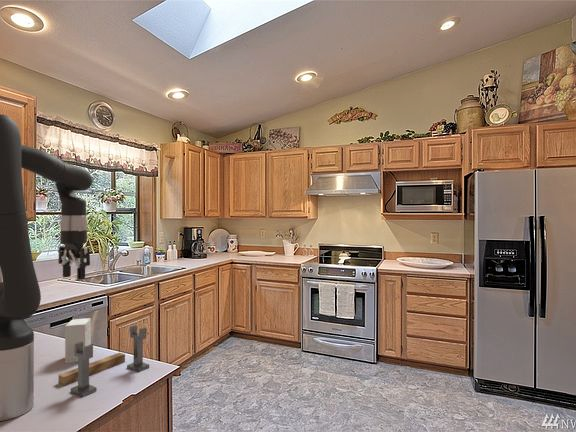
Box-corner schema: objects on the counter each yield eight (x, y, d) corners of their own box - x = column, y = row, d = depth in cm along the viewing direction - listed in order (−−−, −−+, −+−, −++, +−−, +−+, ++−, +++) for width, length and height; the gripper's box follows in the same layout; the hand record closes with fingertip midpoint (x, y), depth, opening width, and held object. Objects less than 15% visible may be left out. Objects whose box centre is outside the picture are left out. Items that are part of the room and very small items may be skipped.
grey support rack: (82, 397, 95) (82, 348, 96) (70, 391, 98) (70, 344, 99) (149, 367, 115) (149, 326, 115) (137, 363, 118) (137, 324, 118)
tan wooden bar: (63, 387, 102) (63, 377, 102) (58, 384, 104) (58, 374, 104) (125, 362, 119) (125, 354, 119) (119, 360, 121) (119, 352, 121)
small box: (71, 354, 126) (71, 319, 126) (91, 352, 128) (91, 317, 128) (64, 363, 118) (64, 325, 118) (85, 361, 120) (85, 323, 120)
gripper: (50, 229, 114) (50, 278, 114) (74, 229, 107) (74, 281, 107) (73, 228, 121) (73, 274, 121) (97, 229, 114) (97, 278, 114)
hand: (73, 278), depth 114 cm, fingers open, 8 cm apart
